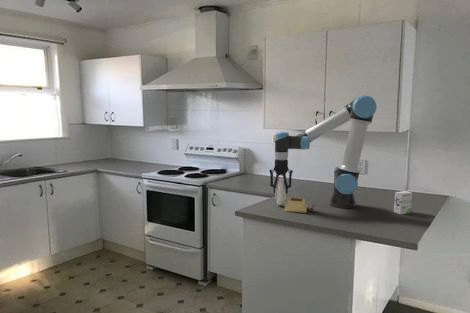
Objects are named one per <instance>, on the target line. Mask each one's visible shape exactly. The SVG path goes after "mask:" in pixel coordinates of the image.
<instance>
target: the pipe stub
mask: <svg viewBox="0 0 470 313" xmlns="http://www.w3.org/2000/svg"><path fill="white" fill-rule="evenodd" d="M276 187H277V199H276V204H277V205H285V200H284V188H285V183H284V178H278V180H277V185H276Z"/></svg>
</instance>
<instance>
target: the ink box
mask: <svg viewBox="0 0 470 313" xmlns="http://www.w3.org/2000/svg"><path fill="white" fill-rule="evenodd" d="M412 200H413V192H412V191H406V190H403V191H395V193H394V203H393V213H395V214H398V215H406V214H410V213H412V212H411V211H412V204H413V203H412V202H413V201H412Z"/></svg>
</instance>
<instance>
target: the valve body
mask: <svg viewBox="0 0 470 313" xmlns="http://www.w3.org/2000/svg"><path fill="white" fill-rule="evenodd" d="M305 200H306V199H305V198H303V197H293V196H292V197H288V199H287V202H286V203H285V204H284V212H291V213H292V212H293V213H301V214H302V213H303V214H307V212H308V211H310V210H311V212H312V213H313V212H314V208H315V204H313V203H312V207H308V204H305V202H306V201H305Z"/></svg>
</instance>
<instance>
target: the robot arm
mask: <svg viewBox="0 0 470 313" xmlns="http://www.w3.org/2000/svg"><path fill="white" fill-rule="evenodd" d="M376 111H377V102H376V100H375V99H374V98H373V97H372V96H370V95H367V94H366V95H364V94H362V95H359V96H358V97H355V98H354V99H353V100H351V102H349V103H348V104H347V105H345V106H343V108H342V109H341V110H340V111H338V112H336V113H334V114H333V115H331V116H329V117H327V118H325V119H324V120H321V121H320V122H318V123H316V124H315V125H313V126H311V127H310V128H308V129H306V130H305V131H303V132H301V133H299V134H297V135H289V132H285V131H278V132H276V133H275V135H274V136H275V138H274V167H273V168H271V169H269V174H270V175H269V176H270V178H269V179H270V181H269V182H270V183H269V184H270V185H269V186H270V187H272V188H273V194H274V197H275V200H277V180H278V179H279V176H282V177H283V178H282V179H284V183H285V188H284V201H286V199H287V194H288V193H289V188H291V187H292V180H293V179H292V176H293V171H294V170H293V169H292V170H291V169H290V168H289V160H288V158H289V150H302V151H304V150H309V149H310V146H311V145H310V144H311V143H312V142H314V141H315V140H317V139H319V138H321V137H323V136H325V135H326V134H328V133H331V132H332V131H333V130H335V129H337V128H339V127H342V126H343V125H344V124H346V123H349V122H350V121H351V124H350V129H349V132H348V137H347V141H346V145H345V149H344V154H343V158H342V163H341V165H339V166H336V167H334V171H333V172H334V176H333V189H332V194H331V197H330V198H329V205H330V206H332V207H334V208H339V209H353V208H356V207H357V203H356V202H357V201H356V197H355V192H356V190H357V189H358V186H359V177H360V170H359V165H360V164H359V163H360V161H361V157H362V156H361V155H362V151H363V147H364V143H365V139H366V134H367V131H368V126H369V125H371V124H372V123H373V118H374V114H375V113H376ZM274 172H275V173H276V175H275V180H274ZM287 173H288V174H289V175H288V180H287Z"/></svg>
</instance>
